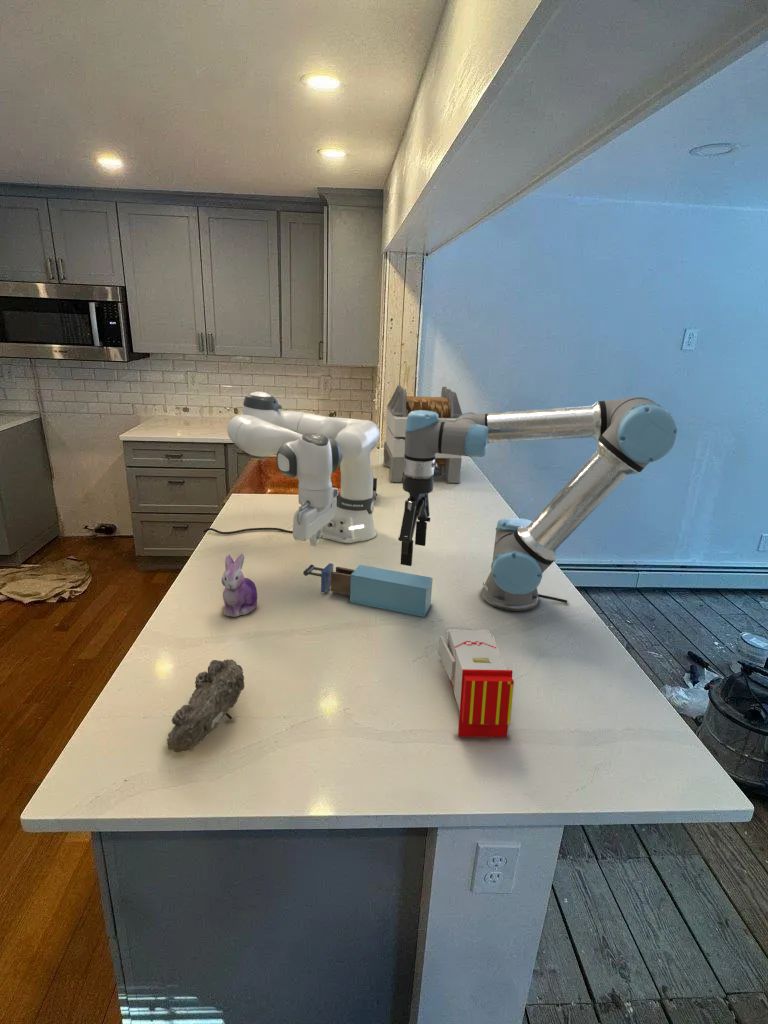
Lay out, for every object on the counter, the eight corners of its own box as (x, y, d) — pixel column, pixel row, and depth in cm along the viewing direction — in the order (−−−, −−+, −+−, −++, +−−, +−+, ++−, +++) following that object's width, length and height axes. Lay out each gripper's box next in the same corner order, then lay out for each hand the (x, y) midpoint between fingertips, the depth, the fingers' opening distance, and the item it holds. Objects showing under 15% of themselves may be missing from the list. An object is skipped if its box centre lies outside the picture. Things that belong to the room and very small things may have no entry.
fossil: (192, 660, 117) (244, 628, 112) (224, 691, 120) (276, 661, 115) (142, 746, 98) (202, 712, 93) (182, 779, 101) (242, 748, 96)
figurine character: (377, 508, 228) (376, 492, 242) (377, 490, 225) (377, 476, 238) (360, 507, 228) (361, 492, 242) (360, 490, 225) (361, 475, 238)
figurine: (226, 621, 140) (223, 566, 135) (217, 603, 148) (214, 550, 143) (264, 614, 144) (262, 560, 139) (253, 596, 153) (251, 545, 148)
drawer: (302, 588, 157) (301, 567, 154) (310, 579, 162) (310, 559, 159) (388, 605, 150) (389, 584, 147) (394, 596, 155) (396, 575, 152)
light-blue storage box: (349, 602, 152) (350, 574, 150) (358, 591, 158) (359, 564, 156) (424, 617, 147) (426, 588, 144) (430, 605, 153) (432, 577, 150)
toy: (488, 613, 130) (523, 677, 101) (484, 667, 133) (517, 744, 104) (435, 612, 130) (455, 676, 101) (432, 666, 133) (451, 743, 103)
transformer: (382, 463, 289) (386, 382, 275) (445, 464, 293) (451, 384, 279) (390, 482, 257) (394, 392, 243) (460, 483, 261) (468, 394, 247)
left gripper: (309, 509, 139) (309, 561, 144) (340, 487, 158) (339, 533, 162) (286, 506, 141) (286, 557, 146) (319, 484, 159) (319, 530, 164)
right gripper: (420, 491, 126) (414, 576, 133) (444, 464, 149) (438, 539, 156) (388, 486, 128) (384, 571, 136) (416, 461, 151) (412, 535, 158)
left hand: (315, 544), depth 154 cm, fingers closed
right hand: (413, 554), depth 146 cm, fingers open, 13 cm apart
